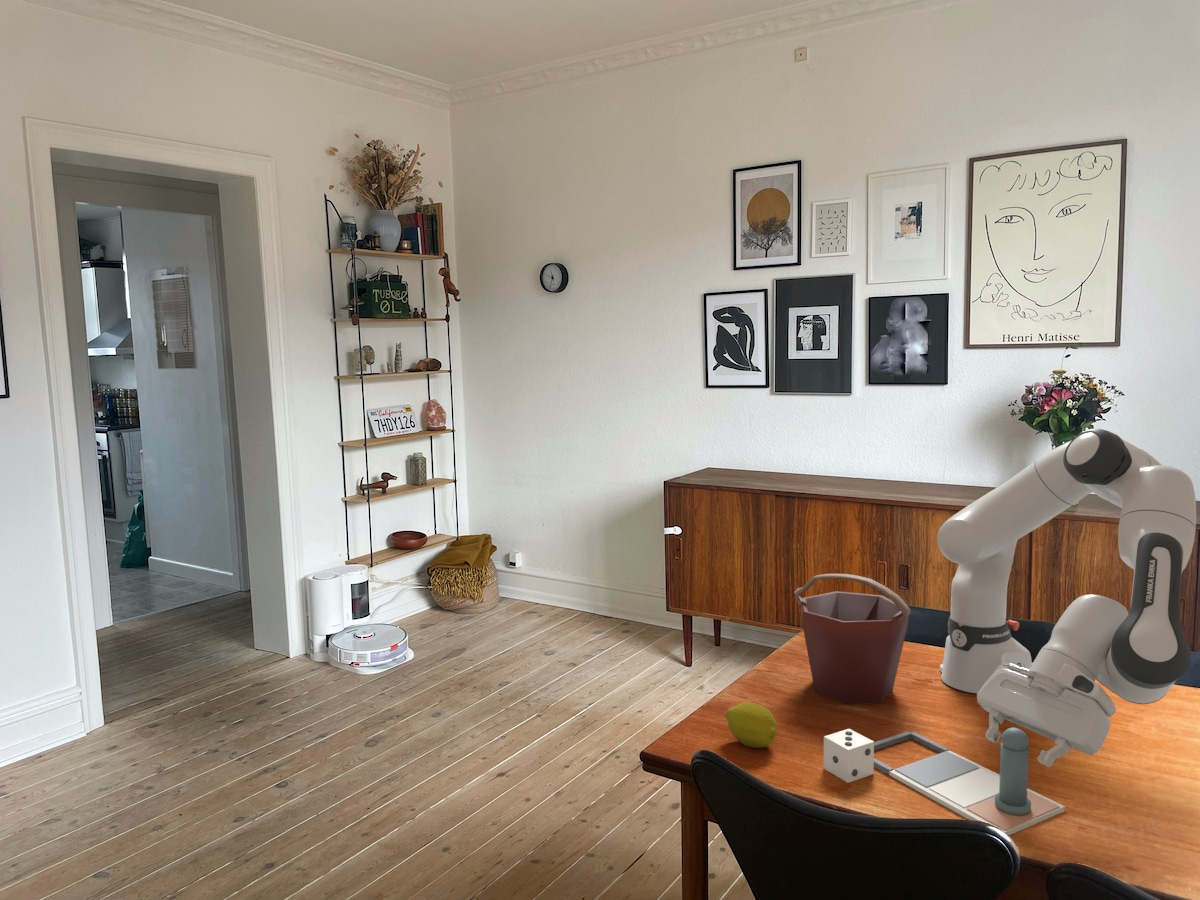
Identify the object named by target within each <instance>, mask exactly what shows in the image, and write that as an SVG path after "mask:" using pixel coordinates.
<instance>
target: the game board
mask: <svg viewBox="0 0 1200 900" xmlns="http://www.w3.org/2000/svg"><path fill="white" fill-rule="evenodd" d="M908 740H912V741H914V742H916V743H919V744H921V745H923V746H925V747H927V748H929V749H930V750H933V751H935V752H937V753H936V754H933V755H930V756H928V757H925V758H922V759H920V760H917V761H914V762H911V763H908V764H905V765H902V766H900V767H897V768H893V767H892V766H891V765H888V764H887V763H884V762H883V761H881V760H879V759H877V758H875V757H874V768H875V769H877V770H879V771H880V772H882V773H884V774H886V775H888V776H890V777H891V778H894V779H895V780H897V781H899V782H900V783H902V784H905V786H908V787H909V788H911V789H913V790H915V791H916V792H917V793H918V792H919V793H921V794H922V795H924V796H926V797H928V798H929V799H931V800H933V801H935V802H936V803H938V804H939V805H942V806H944V807H945V808H947V809H949V810H951V811H953V812H954V813H956V814H957V815H960V816H961V817H963V818H964V819H967V820H969V819H971V820H977V821H982V822H985V823H989V824H991V825H993V826H995V827H998V828H999V829H1001V830H1002V831H1003V832H1004V833H1006V834H1007V835H1008V836H1009V837H1010V836H1011V835H1013V834H1016V833H1017V832H1021V831H1022V830H1025V829H1028V828H1029V827H1031V826H1034V825H1036V824H1039V823H1041V822H1043V821H1046V820H1048V819H1049V818H1052V817H1055V816H1057V815H1059V814H1061V813H1064V812H1065V811H1066V806H1065V805H1063V804H1060V803H1059V802H1058V801H1055V800H1052V799H1051V798H1048V797H1046V796H1045V795H1043V794H1041V793H1038V792H1036V791H1034V790H1032V789H1030V788H1028V787H1027V798H1028V799H1029V800H1030V801H1031V812H1030V813H1029V814H1028V815H1025V816H1013V815H1009V814H1006V813H1003V812H1001V811H1000V810H998V809H997V808H996V806H995V795H996V794H997V793H999V787H1000V773H997V772H995V771H993V770H991V769H988V768H986V767H984V766H982V765H980V764H978V762H974V761H972V760H970V759H969V758H967V757H965V756H962V755H960V754H958V753H957V752H954V751H952V750H950V748H948V747H945V746H943V745H941V744H940V743H937V742H935V741H933V740H931V739H929V738H927V737H925V736H923V735H921V734H919V733H917V732H914V731H913V730H911V729H910V730H908V731H904V732H901V733H897V734H896V735H895V734H894V735H893V736H889V737H886V738H882V739H880V740H876V741H874V752H875V751H878V750H881V749H885V748H886V747H887V748H888V747H889V746H893V745H896V744H898V743H902V742H905V741H908ZM1008 836H1007V837H1008Z"/></svg>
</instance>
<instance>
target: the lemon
mask: <svg viewBox="0 0 1200 900" xmlns="http://www.w3.org/2000/svg"><path fill="white" fill-rule="evenodd" d="M725 717H726V720H727V723H728V728H729V731H730V732H731V734H732V736H734V738H735V739H736V740H737V741H738V742H739V743H740V744H743V745H744V746H746V747H751V748H760V749H761V748H766V747H768V746H770V745H771V744H772V743H773V742H774V741H775V738H776V735H777V731H778V724H777V720H776V719H775V716H774V715H773V714H772V712H771V710H769V709H768V708H767V707H766V706H763V704H762V705H761V704H760V703H759V704H758V703H756V702H750V701H749V702H747V701H746V702H740V703H738V704H737V705H734V706H731V707H729V708H728V709H726V712H725Z"/></svg>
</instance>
